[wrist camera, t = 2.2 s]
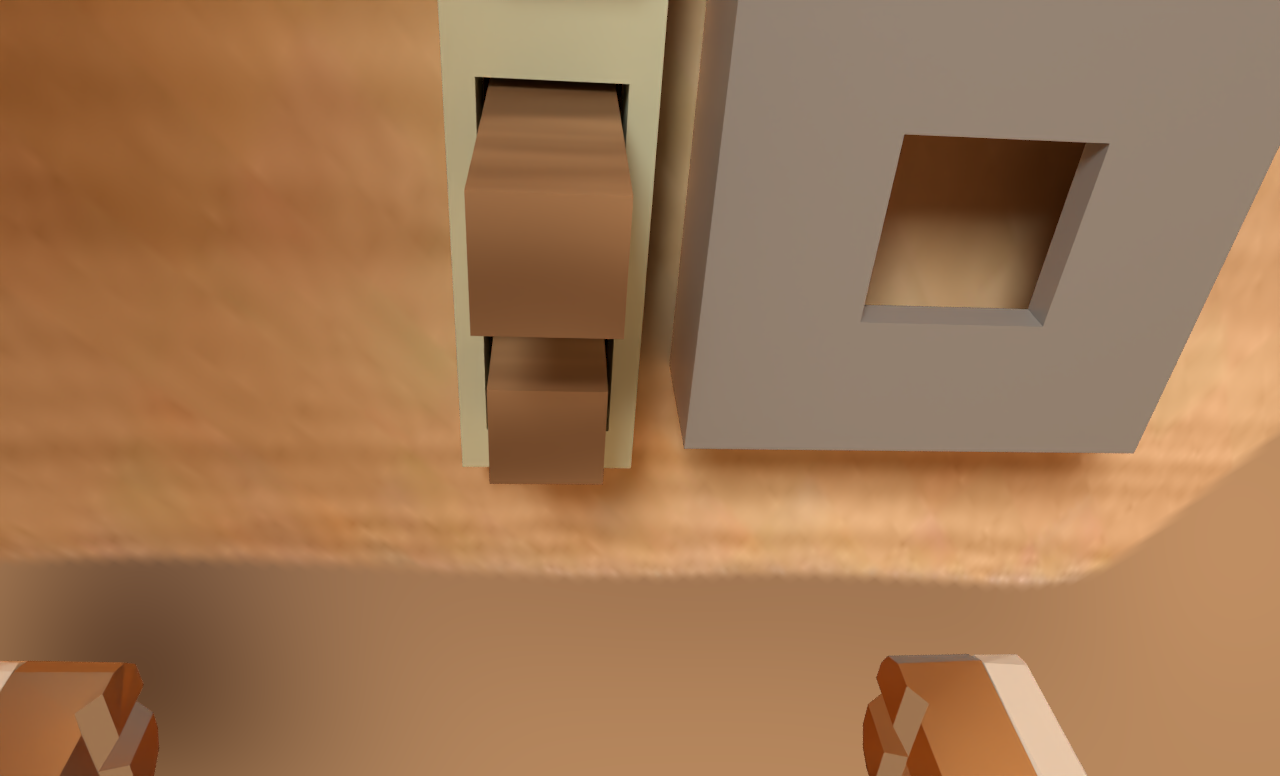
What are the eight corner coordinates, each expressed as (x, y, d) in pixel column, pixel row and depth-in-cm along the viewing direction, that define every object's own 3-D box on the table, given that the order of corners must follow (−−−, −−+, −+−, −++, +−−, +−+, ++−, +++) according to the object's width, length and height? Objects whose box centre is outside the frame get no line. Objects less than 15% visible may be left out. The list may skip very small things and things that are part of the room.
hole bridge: (718, -108, 23) (748, -83, 19) (1243, -72, 24) (1367, -42, 20) (669, 365, 30) (684, 448, 27) (1067, 373, 32) (1133, 453, 28)
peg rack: (433, -362, 19) (417, -377, 17) (682, -339, 20) (696, -351, 18) (469, 420, 31) (462, 466, 29) (626, 422, 32) (631, 468, 30)
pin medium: (499, 291, 28) (486, 390, 24) (601, 294, 29) (608, 392, 24) (500, 376, 30) (489, 483, 26) (596, 378, 31) (602, 484, 26)
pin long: (493, 61, 25) (464, 189, 17) (612, 67, 25) (633, 196, 17) (496, 175, 26) (470, 336, 19) (606, 179, 27) (623, 339, 19)
